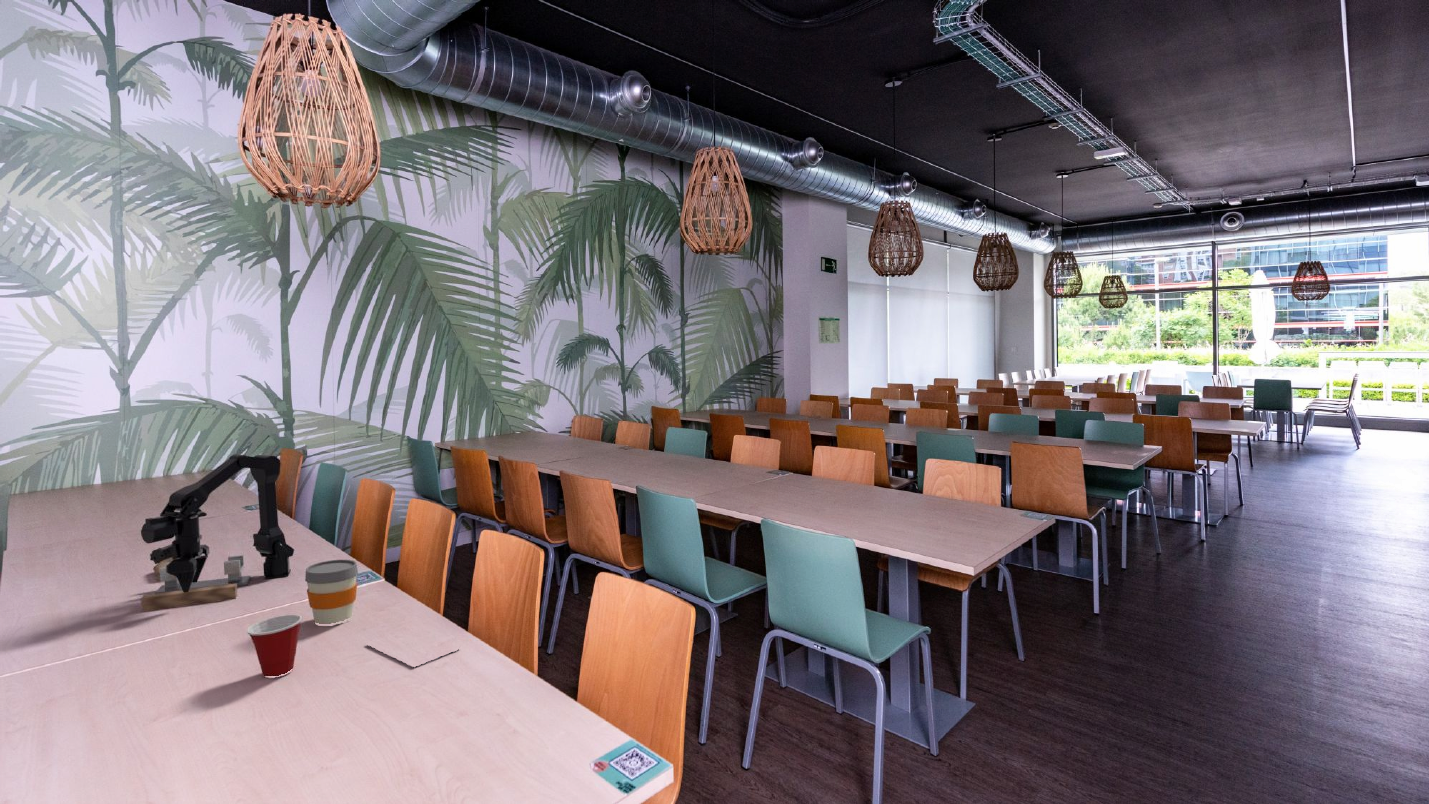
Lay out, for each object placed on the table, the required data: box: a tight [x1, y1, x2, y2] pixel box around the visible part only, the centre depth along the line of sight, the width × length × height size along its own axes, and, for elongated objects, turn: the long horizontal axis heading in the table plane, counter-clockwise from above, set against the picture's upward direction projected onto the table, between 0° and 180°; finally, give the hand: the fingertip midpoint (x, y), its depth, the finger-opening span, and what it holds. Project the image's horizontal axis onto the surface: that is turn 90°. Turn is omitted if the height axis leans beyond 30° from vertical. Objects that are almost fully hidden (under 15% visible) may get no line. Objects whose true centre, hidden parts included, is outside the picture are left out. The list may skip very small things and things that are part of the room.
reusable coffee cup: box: [304, 559, 359, 624], centre depth 190 cm, size 12×13×15 cm
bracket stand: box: [154, 554, 252, 594], centre depth 216 cm, size 23×7×8 cm, turn 114°
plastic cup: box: [245, 613, 303, 677], centre depth 159 cm, size 11×11×12 cm
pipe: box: [152, 557, 180, 582], centre depth 229 cm, size 6×17×10 cm
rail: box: [140, 583, 238, 612], centre depth 202 cm, size 22×3×4 cm, turn 117°
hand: (190, 587), depth 202 cm, fingers open, 9 cm apart
